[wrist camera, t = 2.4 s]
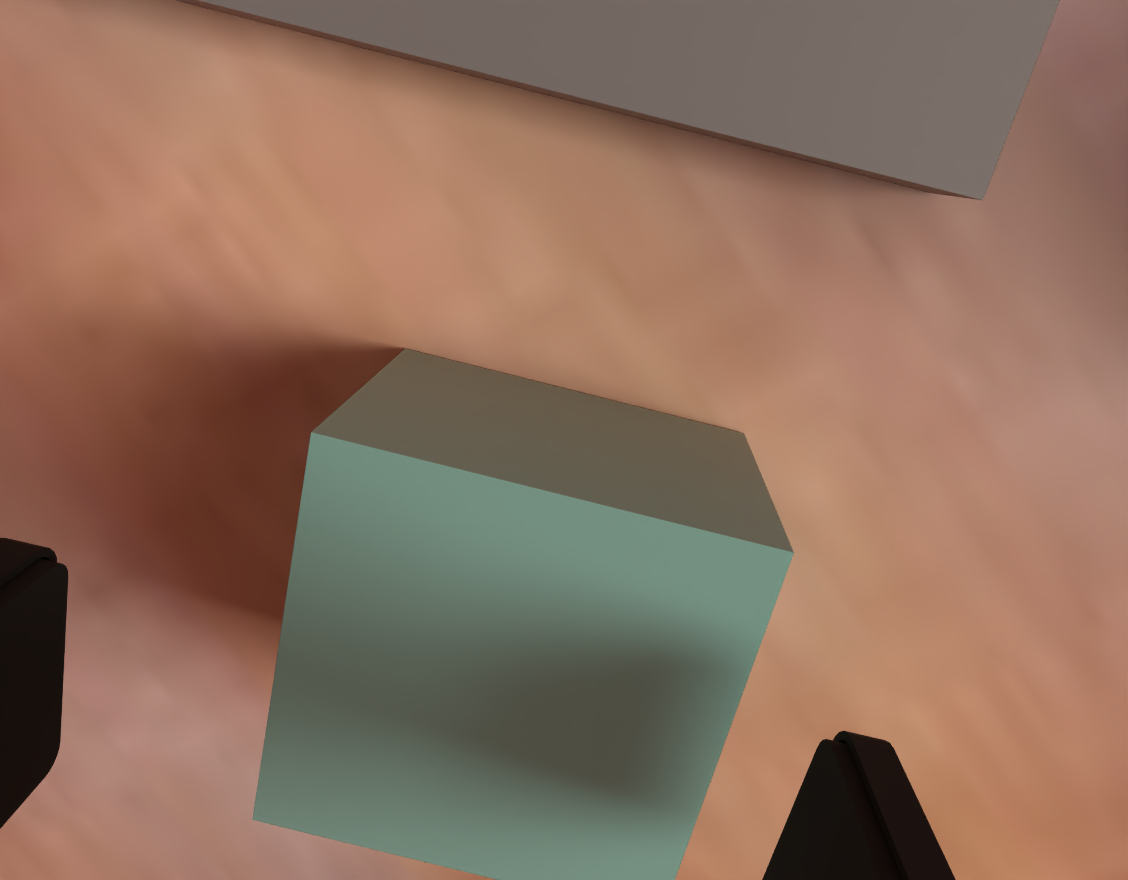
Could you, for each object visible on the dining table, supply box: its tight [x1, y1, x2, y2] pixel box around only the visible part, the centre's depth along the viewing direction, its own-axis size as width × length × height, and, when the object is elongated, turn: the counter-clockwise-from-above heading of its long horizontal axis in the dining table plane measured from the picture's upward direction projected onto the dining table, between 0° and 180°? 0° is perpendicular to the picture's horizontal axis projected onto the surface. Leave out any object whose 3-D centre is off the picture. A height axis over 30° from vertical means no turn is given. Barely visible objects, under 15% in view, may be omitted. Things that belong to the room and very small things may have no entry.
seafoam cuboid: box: [252, 349, 794, 880], centre depth 15 cm, size 6×6×5 cm
